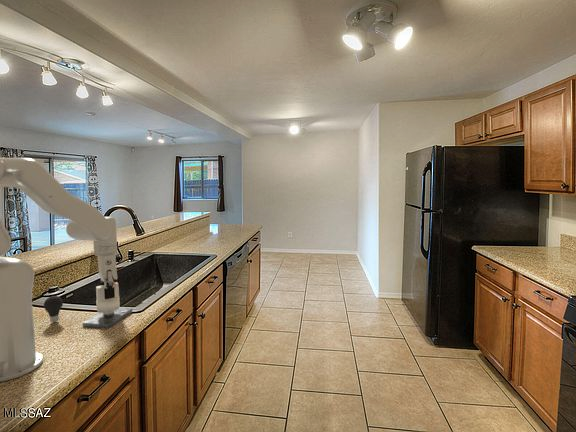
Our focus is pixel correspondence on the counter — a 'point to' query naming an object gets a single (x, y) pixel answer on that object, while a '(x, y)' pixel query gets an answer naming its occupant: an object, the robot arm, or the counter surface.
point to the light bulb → (53, 307)
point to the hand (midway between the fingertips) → (107, 294)
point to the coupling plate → (107, 318)
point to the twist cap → (107, 304)
